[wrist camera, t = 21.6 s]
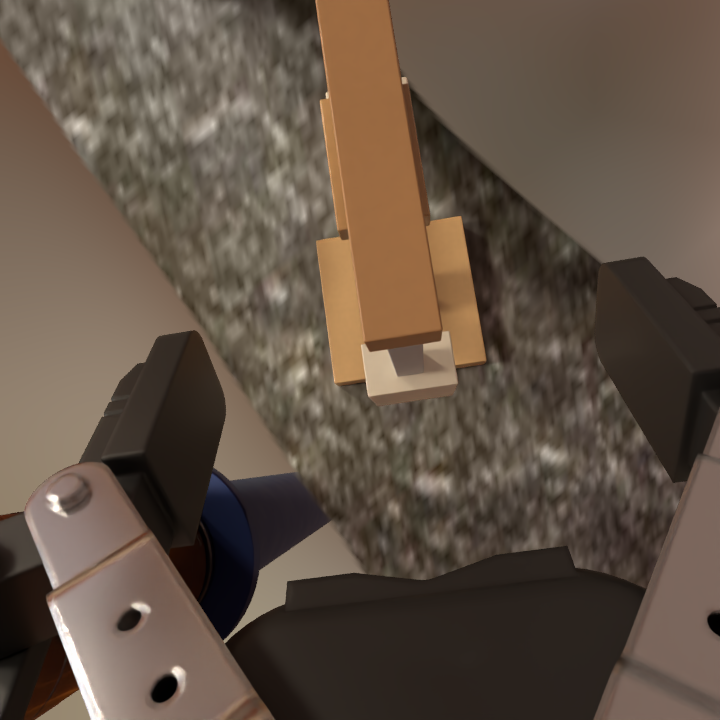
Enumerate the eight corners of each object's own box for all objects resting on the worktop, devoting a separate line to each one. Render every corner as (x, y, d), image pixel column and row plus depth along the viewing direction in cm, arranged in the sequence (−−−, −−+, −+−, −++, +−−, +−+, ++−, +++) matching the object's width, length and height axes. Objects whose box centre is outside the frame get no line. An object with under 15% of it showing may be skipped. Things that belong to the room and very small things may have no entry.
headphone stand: (338, 386, 41) (248, 317, 20) (319, 248, 43) (220, 55, 22) (484, 364, 40) (546, 268, 20) (460, 224, 42) (492, 0, 21)
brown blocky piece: (377, 406, 32) (340, 369, 18) (340, 145, 34) (282, -61, 20) (453, 395, 31) (474, 349, 18) (410, 132, 34) (399, -86, 20)
